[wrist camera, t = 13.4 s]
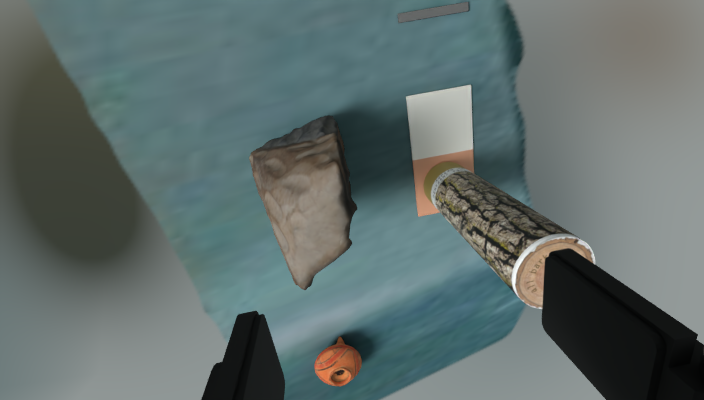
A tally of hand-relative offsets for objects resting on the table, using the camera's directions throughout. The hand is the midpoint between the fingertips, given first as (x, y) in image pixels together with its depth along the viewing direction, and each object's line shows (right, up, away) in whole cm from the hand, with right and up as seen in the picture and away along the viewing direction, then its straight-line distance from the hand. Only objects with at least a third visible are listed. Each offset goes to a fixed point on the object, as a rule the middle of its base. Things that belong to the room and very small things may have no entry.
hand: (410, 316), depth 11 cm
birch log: (+12, +7, +40) cm, 42 cm away
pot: (-5, -23, +49) cm, 55 cm away
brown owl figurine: (-9, +10, +37) cm, 39 cm away
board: (+10, +15, +37) cm, 41 cm away
